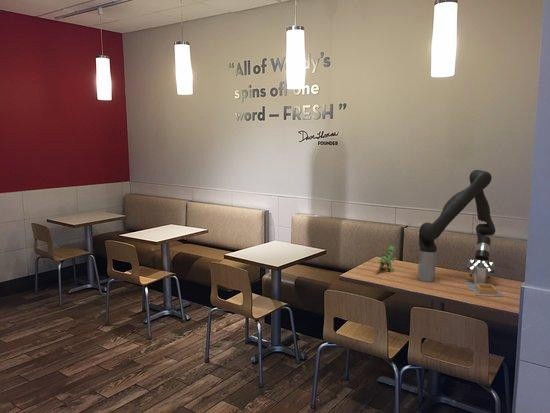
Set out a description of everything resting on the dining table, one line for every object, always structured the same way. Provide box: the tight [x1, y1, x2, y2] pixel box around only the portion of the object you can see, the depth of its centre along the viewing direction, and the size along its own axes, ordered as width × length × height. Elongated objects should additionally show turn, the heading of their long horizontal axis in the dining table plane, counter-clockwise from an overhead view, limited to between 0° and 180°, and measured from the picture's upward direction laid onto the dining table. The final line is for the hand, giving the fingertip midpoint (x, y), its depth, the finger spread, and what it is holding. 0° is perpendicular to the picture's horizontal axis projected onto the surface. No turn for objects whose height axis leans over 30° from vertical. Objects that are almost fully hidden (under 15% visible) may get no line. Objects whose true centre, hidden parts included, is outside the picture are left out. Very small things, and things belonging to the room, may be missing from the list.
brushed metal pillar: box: [473, 266, 487, 284], centre depth 275 cm, size 4×4×10 cm
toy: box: [378, 245, 397, 273], centre depth 303 cm, size 12×21×15 cm, turn 172°
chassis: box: [464, 281, 503, 298], centre depth 269 cm, size 14×22×4 cm, turn 174°
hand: (479, 277), depth 274 cm, fingers open, 8 cm apart
